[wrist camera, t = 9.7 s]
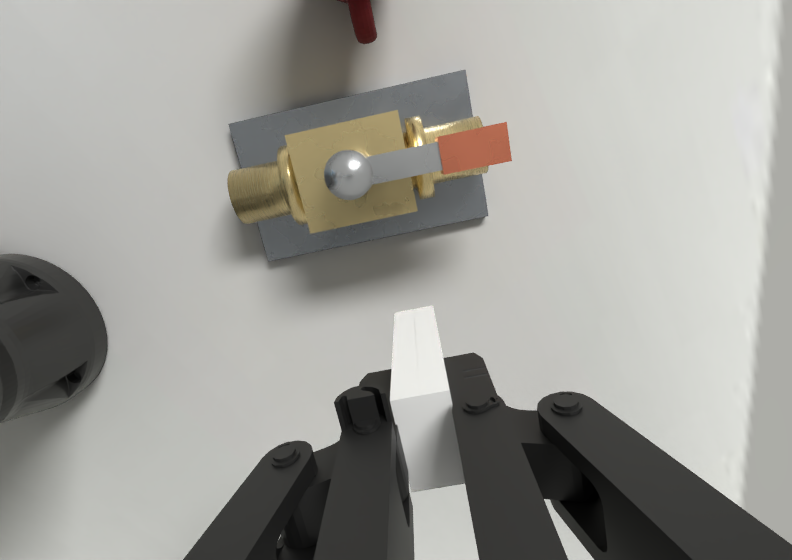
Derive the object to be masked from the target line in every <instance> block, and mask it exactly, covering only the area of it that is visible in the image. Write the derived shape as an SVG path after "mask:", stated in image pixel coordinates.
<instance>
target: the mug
mask: <svg viewBox="0 0 792 560" xmlns="http://www.w3.org/2000/svg"><path fill="white" fill-rule="evenodd" d="M337 1H340V2H344V3H348V6H349V10H350V15H351V19H352V23H353V27H354V31H355V35H356V38H357V40H358V42H360V43H362V44H368V43H371V42H373V41H374V40H375V39H376V38H377V33H376V28H375V23H374V18H373V13H372V8H371V3H370V0H337Z"/></svg>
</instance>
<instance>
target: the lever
mask: <svg viewBox="0 0 792 560" xmlns="http://www.w3.org/2000/svg"><path fill="white" fill-rule="evenodd" d="M435 141H436V142H434V143H430V144H425V145H420V146H416V147H411V148H406V149H401V150H397V151H392V152H387V153H383V154H378V155H373V156H368V157H367V156H366V155H365V154H363V153H361V152H359V151H354V150H343V151H339V152H337V153H335V154H334V155H333V156H331V158H330V159H329V160H328V161H327V163H326V166H325V169H324V179H325V183H326V185H327V187H328V189H329V190H330V192H331V193H332V194H334V195H335V196H336V197H338V198H341V199H344V200H354V199H358V198H360V197H362V196H363V195H364V194H365V193H366V192H367V191H368V190H369V189H370V188H371V187H372V185H374V184H378V183H383V182H388V181H393V180H398V179H402V178H407V177H412V176H417V175H422V174H426V173H431V172H436V171H441V174H443V175H446V174H450V173H455V172H460V171H465V170H470V169H474V168H479V167H484V166H489V165H494V164H499V163H503V162H508V161H512V159H511V152H510V144H509V137H508V130H507V122H504V123H500V124H495V125H490V126H486V127H481V128H476V129H472V130H467V131H462V132H457V133H453V134H448V135H443V136H439V137H436V138H435Z"/></svg>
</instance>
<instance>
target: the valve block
mask: <svg viewBox="0 0 792 560" xmlns="http://www.w3.org/2000/svg"><path fill="white" fill-rule="evenodd" d="M481 127H483V125H482V122H481V120H480V118H479V117H478V116H476V117H473V115H472V109H471V102H470V96H469V90H468V84H467V77H466V71H465V70H461V71H457V72H453V73H448V74H444V75H440V76H435V77H431V78H427V79H422V80H418V81H414V82H409V83H405V84H400V85H396V86H392V87H387V88H383V89H379V90H374V91H370V92H366V93H361V94H357V95H353V96H348V97H344V98H340V99H335V100H331V101H327V102H322V103H318V104H314V105H309V106H305V107H300V108H296V109H292V110H287V111H283V112H279V113H274V114H270V115H266V116H261V117H257V118H253V119H248V120H244V121H240V122H235V123H231V124H229V128H230V131H231V135H232V138H233V141H234V145H235V148H236V152H237V155H238V159H239V162H240V165H241V169H238V170H233V171H231V172H230V173H229V175H228V191H229V196H230V200H231V203H232V205H233V208H234V210H235V212H236V214H237V216H238V217H239V219H240V220H241V221H242V222H243V223H245V224H249V223H254V222H257V224H258V227H259V231H260V234H261V238H262V241H263V245H264V248H265V251H266V255H267V258H268V261H273V260H277V259H282V258H287V257H292V256H297V255H302V254H306V253H311V252H316V251H321V250H326V249H331V248H335V247H340V246H345V245H350V244H355V243H360V242H364V241H369V240H374V239H379V238H384V237H389V236H393V235H398V234H403V233H408V232H413V231H418V230H422V229H427V228H432V227H437V226H442V225H447V224H451V223H456V222H461V221H466V220H471V219H476V218H480V217H485V216H488V210H487V204H486V197H485V191H484V185H483V178H482V174H483V173H487V171H488V166H484V167H479V168H474V169H470V170H465V171H460V172H455V173H450V174H446V175H443V174H441V171H436V172H431V173H426V174H422V175H417V176H412V177H407V178H402V179H398V180H393V181H388V182H383V183H378V184H374V185H372V187H371V188H370V189H369V190H368V191H367V192H366V193H365V194H364V195H363V196H362V197H360V198H358V199H354V200H344V199H341V198H338V197H336V196H335V195H334V194H332V193H331V192H330V190H329V189H328V187H327V185H326V183H325V179H324V169H325V166H326V163H327V161H328V160H329V159H330V158H331V156H333V155H334V154H335V153H337V152H339V151H343V150H354V151H359V152H361V153H363V154H365V155H366V156H367V157H368V156H373V155H378V154H383V153H387V152H392V151H397V150H401V149H406V148H411V147H416V146H420V145H425V144H430V143H434V142H436V141H435V138H436V137H439V136H443V135H448V134H453V133H457V132H462V131H467V130H472V129H476V128H481Z"/></svg>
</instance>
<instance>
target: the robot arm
mask: <svg viewBox="0 0 792 560" xmlns="http://www.w3.org/2000/svg"><path fill="white" fill-rule="evenodd" d="M106 352H107V334H106V328H105V324H104V321H103V318H102V315H101V313H100V311H99V309H98V307H97V305H96V303H95V302H94V300H93V299H92V297H91V296H90V294H89V293H88V292H87V291H86V290H85V288H84V287H83V286H82V285H81V284H80V283H79V282H78V281H77V280H75V279H74V278H73V277H72V276H71V275H69V274H68V273H67V272H65V271H64V270H62V269H61V268H59V267H57V266H55V265H53V264H51V263H49V262H47V261H44V260H42V259H39V258H35V257H31V256H27V255H20V254H3V255H0V423H2V422H5V421H9V420H12V419H15V418H19V417H22V416H26V415H29V414H32V413H36V412H39V411H43V410H46V409H49V408H53V407H55V406H58V405H60V404H62V403H64V402H66V401H67V400H69V399H71V398H72V397H73V396H75V395H76V394H78V393H79V392H80V391H82V390H83V389H84V388H86V387H87V386H88V385H89V384H91V382H92V381H93V380H94V379H95V378H96V377H97V375H98V374H99V372H100V370H101V368H102V366H103V364H104V361H105V357H106ZM334 404H335V408H336V412H337V415H338V419H339V422H340V426H341V430H342V432H341V436H340V441H338V442H336V443H335V444H333V445H331V446H329V447H326V448H324V449H321V450H318V451H316V452H313V450H312V447H311V445H310V444H309V443H307V442H305V441H292V442H286V443H284V444H281V445H278V446H277V447H276V448H274V449H272V450H271V451H269V452H268V453H267V454H266V455H265V456H264V457H263V458H262V459H261V460H260V462H259V463H258V464H257V466H256V467H255V468H254V469H253V471H252V472H251V473H250V475H249V476H248V477H247V478H246V480H245V481H244V482H243V484H242V485H241V486H240V487H239V489H238V490H237V491H236V493H235V494H234V495H233V496H232V498H231V499H230V500H229V502H228V503H227V504H226V505H225V507H224V508H223V509H222V511H221V512H220V513H219V514H218V516H217V517H216V518H215V520H214V521H213V522H212V523H211V525H210V526H209V527H208V529H207V530H206V531H205V532H204V534H203V535H202V536H201V537H200V539H199V540H198V541H197V543H196V544H195V545H194V546H193V548H192V549H191V550H190V552H189V553H188V554H187V555H186V557H185V558H184V559H183V560H414V533H413V506H412V502H411V498H410V493H409V483H410V487H411V492H416V491H422V490H428V489H434V488H440V487H446V486H452V485H458V484H464V483H465V485H466V490H467V495H468V501H469V506H470V512H471V517H472V522H473V528H474V533H475V539H476V544H477V549H478V555H479V560H568V558H567V556H566V553H565V551H564V548H563V546H562V543H561V541H560V538H559V536H558V534H557V531H556V529H555V526H554V524H553V521H552V519H551V516H550V514H549V511H548V509H547V506H546V504H545V501H544V499H550V500H551V503H552V505H553V507H554V509H555V510H556V512H557V513H558V514H559V515H560V517H561V518H562V519H563V521H564V522H565V523H566V524H567V526H568V527H569V528H570V529H571V531H572V532H573V533H574V534H575V536H576V537H577V538H578V539H579V541H580V542H581V543H582V544H583V546H584V547H585V548H586V550H587V551H588V552H589V553H590V555H591V556H592V557H593V558H594V560H792V545H791V544H790V543H789V542H787V541H786V540H784V539H783V538H782V537H780V536H779V535H777V534H776V533H775V532H774V531H772V530H771V529H769V528H768V527H767V526H765V525H764V524H762V523H761V522H760V521H758V520H757V519H756V518H754V517H753V516H752V515H750V514H749V513H747V512H746V511H745V510H743V509H742V508H741V507H739V506H738V505H737V504H735V503H734V502H733V501H731V500H730V499H728V498H727V497H726V496H724V495H723V494H722V493H720V492H719V491H717V490H716V489H715V488H713V487H712V486H711V485H709V484H708V483H707V482H705V481H704V480H702V479H701V478H700V477H698V476H697V475H696V474H694V473H693V472H691V471H690V470H689V469H687V468H686V467H685V466H683V465H682V464H681V463H679V462H678V461H676V460H675V459H674V458H672V457H671V456H670V455H668V454H667V453H666V452H664V451H663V450H661V449H660V448H659V447H657V446H656V445H655V444H653V443H652V442H650V441H649V440H648V439H646V438H645V437H644V436H642V435H641V434H640V433H638V432H637V431H635V430H634V429H633V428H631V427H630V426H629V425H627V424H626V423H625V422H623V421H622V420H620V419H619V418H618V417H616V416H615V415H614V414H612V413H611V412H609V411H608V410H607V409H605V408H604V407H603V406H601V405H600V404H599V403H597V402H596V401H594V400H593V399H592V398H590V397H588V396H586V395H584V394H580V393H575V392H558V393H554V394H550V395H548V396H546V397H544V398H542V399H541V401H540V402H539V403H538V407H537V411H529V410H518V409H514V408H511V407H508V406H506V405H505V403H504V401H503V400H502V398H501V397H500V396H498V395H497V393H496V391H495V388H494V386H493V383H492V380H491V378H490V375H489V373H488V370H487V368H486V365H485V363H484V360H483V358H482V357H480V356H478V355H477V354H475V353H469V354H463V355H458V356H453V357H447V358H443V354H442V349H441V344H440V339H439V334H438V329H437V324H436V319H435V314H434V309H433V305H432V306H427V307H421V308H416V309H411V310H406V311H401V312H396V313H395V315H394V334H393V352H392V369H389V370H384V371H379V372H373V373H368V374H367V375H366V376H365V377H364V378H363V379H362V380H361V382H360V384H359V386H356V387H353V388H350V389H348V390H346V391H344V392H343V393H342V394H340V395H339V396H338V397H337V398H336V400H335V402H334ZM280 534H281V537H280ZM279 537H280V539H279ZM278 539H279V540H278Z"/></svg>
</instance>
